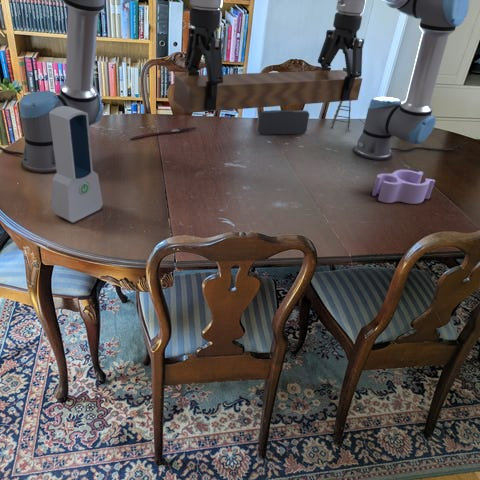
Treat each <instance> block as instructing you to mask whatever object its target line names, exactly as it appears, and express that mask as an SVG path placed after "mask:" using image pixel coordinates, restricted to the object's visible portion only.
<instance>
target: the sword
mask: <svg viewBox="0 0 480 480" xmlns="http://www.w3.org/2000/svg"><path fill="white" fill-rule="evenodd" d="M188 130H189V131H190V130H197V127H196V126H190V127H184V128H183V127H182V128H180V127H178V128H176V129H170V130H163V131H158V132H157V131H156V132H151V133H146V134H141V135H137V136H133V137H132V138H130V141H131V140H137V139H140V138H145V137H151V136H156V135H160V134H161V135H163V134H169V133H176V132H177V133H178V132H179V133H180V132H182V131H188Z"/></svg>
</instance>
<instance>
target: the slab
mask: <svg viewBox="0 0 480 480" xmlns="http://www.w3.org/2000/svg"><path fill="white" fill-rule="evenodd" d="M345 76H347V72H345V71H343V69H333V70H332V69H331V70H328V71H321V70H307V71H303V70H302V71H279V72H278V71H276V72H275V71H274V72H250V73H249V72H248V73H223V83H219V84H218V85H217V99H216V110H205V97H206V82H207V81H208V77H207V74H199V75H191V76H189V75H174V76H173V101H174V102H175V103H176V104H177V105H178V106H180V107H181V108H182V109H184V110H185V111H186V112H187V113H188V114H192V113H207V112H218V111H219V112H220V111H233V110H246V109H258V108H259V109H260V108H273V107H285V106H299V105H309V104H310V105H313V104H324V103H336V102H337V103H338V102H339V103H340V101H343V102H350V101H351V102H352V101H358V100H359V96H360V92H361V91H360V90H361V86H362V82H363V78H362V77H356V78H355V80H354V85H353V88H352V89H351V93H350V98H349V100H340V99H341V94H342V89H343V84H344V79H345Z"/></svg>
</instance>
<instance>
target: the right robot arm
mask: <svg viewBox="0 0 480 480" xmlns="http://www.w3.org/2000/svg"><path fill="white" fill-rule="evenodd" d="M382 1H383V2H385V3H386V5H387V6H388V7H389V8H391V9H394V10H395V11H397V12H400V13H402V14H404V15H405V16H408V17H411V18H412V19H417V20H420V22H419V30H420V31H421V32H422V33H421V37H420V41H419V45H418V50H417V53H416V58H415V61H414V62H415V63H414V66H413V70H412V74H411V78H410V82H409V86H408V91H407V94H406V98H405V100H404V101H402V100H401V99H400V98H397V97H391V96H377V97H373V98H371V100H370V102H369V104H368V108H367V113H366V117H365V121H364V125H363V128H362V129H363V130H362V133H361V135H360V136H359V138H358V139H357V141H356V143H355V145H354V148H353V151H354V153H355V154H357V155H358V156H360V157H362V158H365V159H369V160H373V161H374V160H375V161H385V160H390V158H391V156H392V152H393V150H394V151H399V152H408V151H412V150H415V149H416V150H417V149H418V150H419V149H420V150H429V151H440V152H441V151H444V152H446V151H447V152H451V151H456V150H457V149H460V150H462V149H463V148H462V146H461V147H459V148H456V149H453V148H435V147H427V146H412V147H409V148H398V147H392V137H396V138H397V139H400V140H402V141H405V142H406V143H411V144H414V145H418V144H422V143H423V142H424V141H426V140H427V139H428V137H429V136H430V135H431V133H432V132H433V130H434V128H435V125H436V123H437V122H436V121H437V120H436V116H434V115H433V114H432V112H433V106H432V105H431V101H432V97H433V94H434V90H435V86H436V82H437V79H438V76H439V71H440V68H441V64H442V61H443V57H444V53H445V50H446V47H447V42H448V40H449V36H450V35H451V34H453V33H454V32H455V31H456V29H457V27H459V26H460V25H462V24H463V23H464V21H465V18H466V17H467V15H468V12H469V7H470V0H382ZM366 2H367V0H337V3H336V8H335V10H336V11H337V12H336V13H334V17H333V19H334V20H333V23H332V26H333V27H334V29H327V30H326V33H325V38H324V42H323V44H322V47H321V50H320V53H319V56H318V58H317V63H318V64H320V67H321V68H320V69H321V70H320V71H328V70H332V67H331V65H332V63H333V61H334V59H335V57H336V56H337V54H338V53H339V51H340V50H341V51H342V53H343V55H344V61H345V68H346V70H347V76H345V79H344V84H343V89H342V94H341V99H340V100H349V98H350V93H351V89H352V88H353V85H354V80H355V78H356V77H360V78H362V76H363V75H362V73H363V71H362V70H363V68H362V66H363V48H364V44H365V39H364V38H359V37H358V31H360V29H361V27H362V21H363V16H362V14H364V13H365V7H366ZM351 72H352V73H351ZM392 135H393V136H392Z"/></svg>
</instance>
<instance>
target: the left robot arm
mask: <svg viewBox="0 0 480 480" xmlns="http://www.w3.org/2000/svg"><path fill="white" fill-rule="evenodd" d="M105 1H106V0H62V2H63V4H64V5H65V6H66V7H67V28H66V34H67V35H66V56H65V57H66V58H65V59H66V61H65V62H66V63H65V66H66V67H65V81H64V82H61V85H60V93H59V94H56V92H54V91H51V90H42V91H41V90H37V91H32V92H30V93H26V94H24V96H22V97H21V98H20V100H19V103H18V104H19V116H20V120H21V126H22V132H23V137H24V148H23V152H21V151H13V150H8V149H6V148H3V147H2V146H0V150H1V151H2V152H4V153H6V154H11V155H17V156H22V158H21V159H22V160H21V161H22V166H23V168H24V169H25V170H27V171H29V172H33V173H39V174H46V173H57V170H56V162H55V155H54V147H53V140H52V132H51V124H50V117H49V112H50V111H52V110H53V109H55V108H57V107H60V106H67V107H71V108H74V109H77V110H80V111H83V112H86V113H88V120H89V126H92V125H95V124H98V123H99V122H100V121H101V119H102V117H103V114H104V103H103V99H102V96H101V95H100V93H99V91H98V89H97V88H96V87H95V86H94V78H95V77H94V76H95V63H96V51H97V38H98V36H97V35H98V23H99V14H100V13H102V12H104V10H105V3H106V2H105ZM189 5H190V6H191V7H190V8H189V18H188V19H189V20H188V22H189V25H190V26H192V27H189V28H188V39H187V45H186V51H185V58H184V59H185V60H184V66H185V67H187V72H188V76H191V75H200V71H201V68H200V63H201V60H202V57H204V58H203V59H204V64H205V68H206V69H205V71H206V75H207V77H208V81H207V82H206V97H205V110H216V99H217V85H218V84H219V83H223V74H224V72H223V56H222V55H223V54H222V53H223V52H222V46H223V39H222V38H221V37H218V38H217V36H216V30H217V29H220V28H221V27H222V18H223V15H222V14H223V12H222V10H221V9H222V8H223V0H189Z"/></svg>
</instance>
